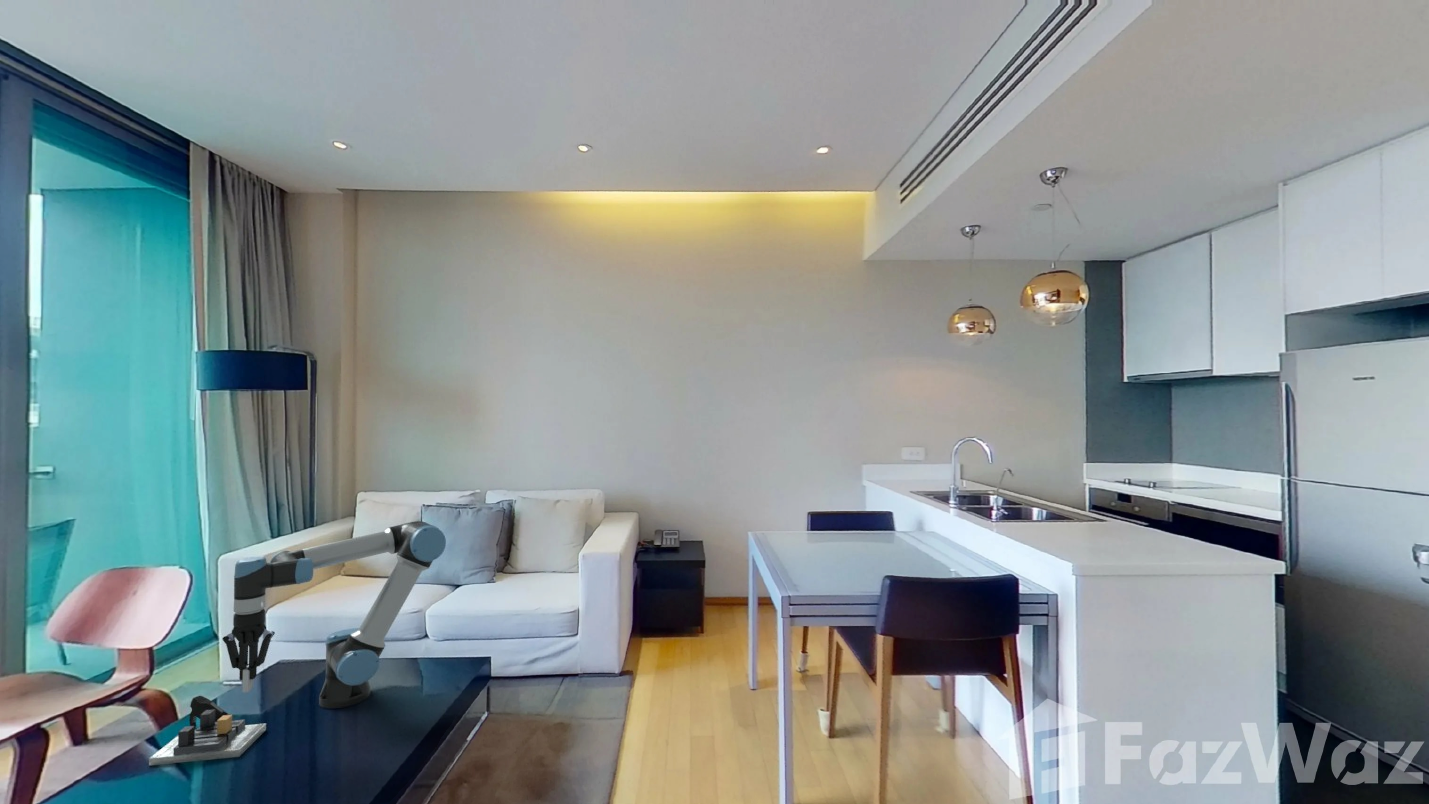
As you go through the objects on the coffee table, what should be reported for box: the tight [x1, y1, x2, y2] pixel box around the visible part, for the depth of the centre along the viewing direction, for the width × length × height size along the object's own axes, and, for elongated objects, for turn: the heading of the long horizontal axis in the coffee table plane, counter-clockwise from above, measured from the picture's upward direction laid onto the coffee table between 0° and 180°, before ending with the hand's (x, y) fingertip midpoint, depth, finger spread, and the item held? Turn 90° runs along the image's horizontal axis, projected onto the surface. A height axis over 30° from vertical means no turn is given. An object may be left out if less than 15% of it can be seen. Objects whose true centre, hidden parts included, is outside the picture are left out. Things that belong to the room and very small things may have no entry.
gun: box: [188, 695, 234, 726], centre depth 190 cm, size 3×16×10 cm, turn 79°
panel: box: [148, 709, 267, 766], centre depth 179 cm, size 22×15×8 cm
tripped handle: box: [217, 714, 233, 734], centre depth 180 cm, size 2×3×4 cm
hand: (247, 690), depth 181 cm, fingers closed
